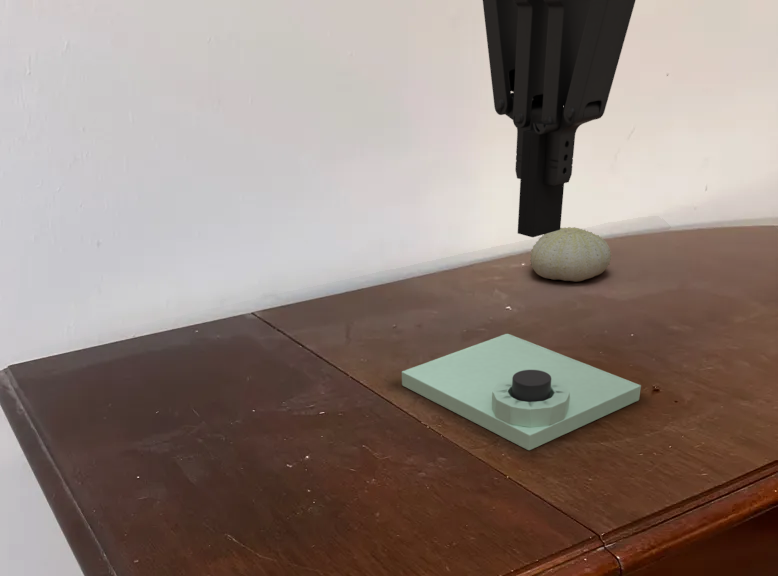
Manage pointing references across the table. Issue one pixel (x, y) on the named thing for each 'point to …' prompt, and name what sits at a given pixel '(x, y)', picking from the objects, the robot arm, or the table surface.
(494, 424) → the scale
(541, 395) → the power button
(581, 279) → the sea urchin shell
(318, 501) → the table surface
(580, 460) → the table surface
